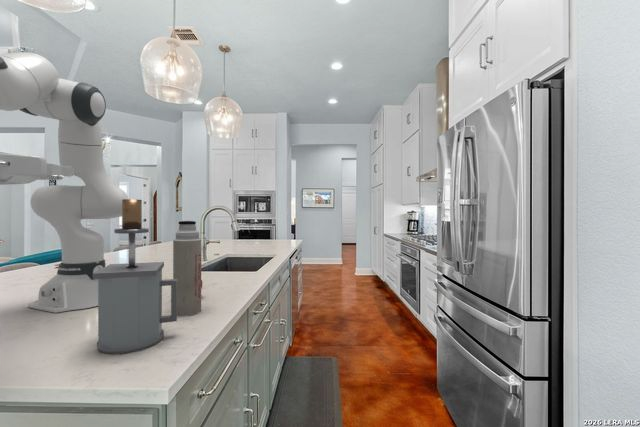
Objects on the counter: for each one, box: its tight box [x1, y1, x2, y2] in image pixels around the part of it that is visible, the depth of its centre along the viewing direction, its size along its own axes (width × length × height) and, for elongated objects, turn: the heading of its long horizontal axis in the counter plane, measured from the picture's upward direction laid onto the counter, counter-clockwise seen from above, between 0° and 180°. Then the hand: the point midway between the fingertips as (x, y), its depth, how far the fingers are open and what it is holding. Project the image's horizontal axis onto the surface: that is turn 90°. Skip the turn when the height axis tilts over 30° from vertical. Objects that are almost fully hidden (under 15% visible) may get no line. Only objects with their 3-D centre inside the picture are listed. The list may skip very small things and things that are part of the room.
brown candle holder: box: [113, 198, 150, 268], centre depth 74 cm, size 10×10×19 cm
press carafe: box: [93, 261, 178, 355], centre depth 75 cm, size 17×14×18 cm
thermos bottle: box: [172, 220, 202, 317], centre depth 96 cm, size 8×8×28 cm
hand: (67, 174), depth 65 cm, fingers open, 8 cm apart
